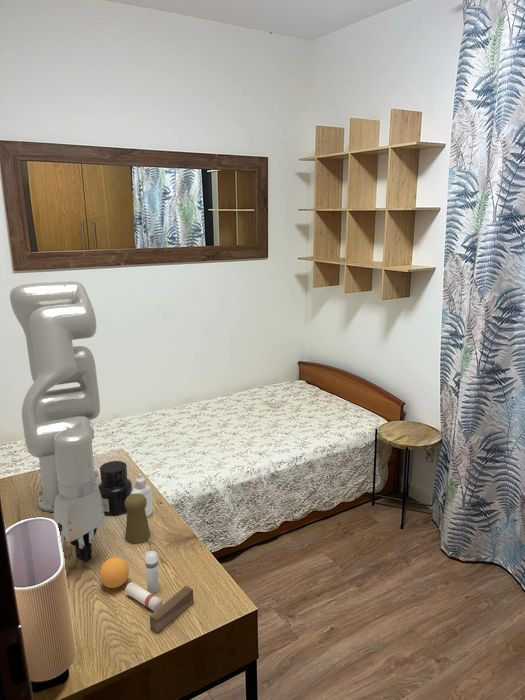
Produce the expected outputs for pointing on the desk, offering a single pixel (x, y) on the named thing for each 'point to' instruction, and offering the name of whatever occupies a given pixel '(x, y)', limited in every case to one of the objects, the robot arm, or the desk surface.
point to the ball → (114, 572)
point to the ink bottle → (114, 487)
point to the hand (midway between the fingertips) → (84, 558)
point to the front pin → (143, 596)
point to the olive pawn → (136, 519)
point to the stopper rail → (171, 609)
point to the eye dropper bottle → (144, 493)
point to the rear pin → (152, 571)
